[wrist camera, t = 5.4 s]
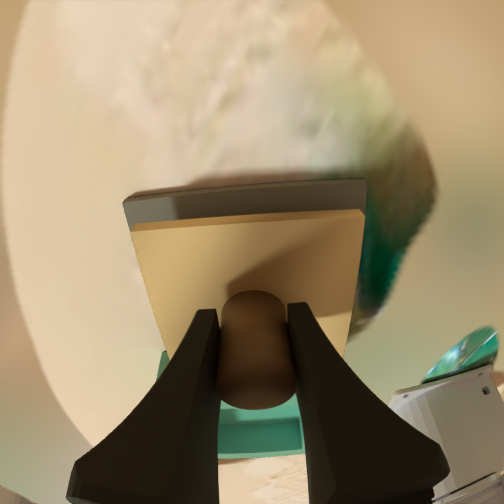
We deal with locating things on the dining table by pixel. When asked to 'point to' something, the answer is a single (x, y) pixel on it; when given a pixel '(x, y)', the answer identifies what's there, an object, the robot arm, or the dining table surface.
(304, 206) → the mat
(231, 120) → the dining table surface
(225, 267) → the lid
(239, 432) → the dish
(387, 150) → the dining table surface
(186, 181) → the dining table surface
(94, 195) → the dining table surface
